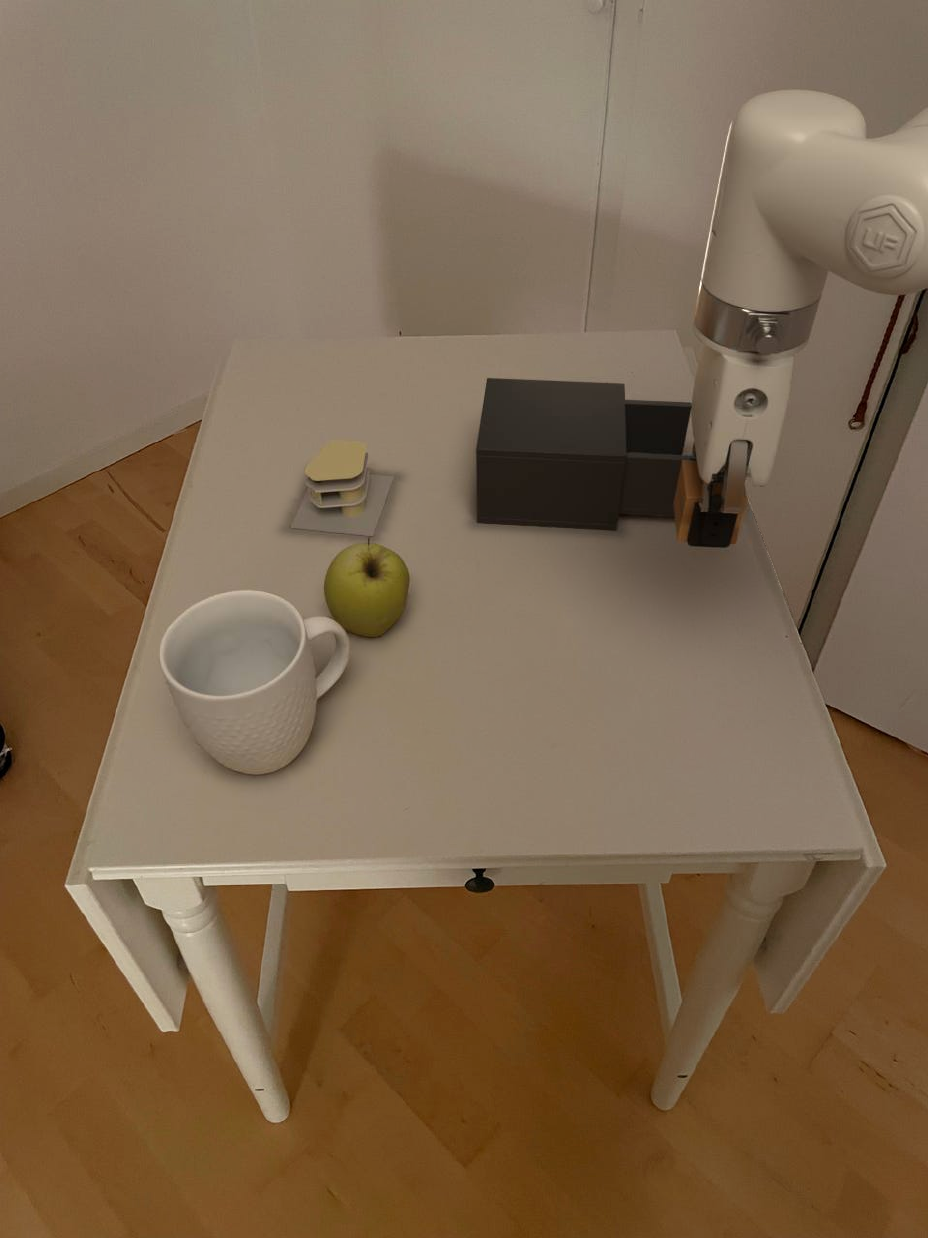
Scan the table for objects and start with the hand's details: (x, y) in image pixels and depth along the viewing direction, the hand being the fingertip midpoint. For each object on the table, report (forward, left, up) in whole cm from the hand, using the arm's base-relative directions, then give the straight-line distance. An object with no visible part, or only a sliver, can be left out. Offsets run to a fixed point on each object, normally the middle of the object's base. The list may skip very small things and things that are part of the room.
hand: (704, 520), depth 73 cm
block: (0, 0, 0) cm, 0 cm away
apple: (+28, -1, -16) cm, 33 cm away
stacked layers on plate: (+34, -18, -16) cm, 42 cm away
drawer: (0, -22, -15) cm, 27 cm away
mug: (+34, +13, -16) cm, 40 cm away
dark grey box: (+12, -22, -16) cm, 30 cm away
